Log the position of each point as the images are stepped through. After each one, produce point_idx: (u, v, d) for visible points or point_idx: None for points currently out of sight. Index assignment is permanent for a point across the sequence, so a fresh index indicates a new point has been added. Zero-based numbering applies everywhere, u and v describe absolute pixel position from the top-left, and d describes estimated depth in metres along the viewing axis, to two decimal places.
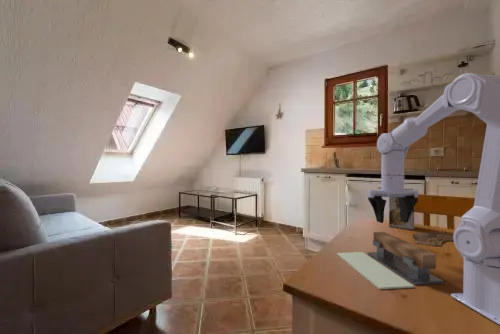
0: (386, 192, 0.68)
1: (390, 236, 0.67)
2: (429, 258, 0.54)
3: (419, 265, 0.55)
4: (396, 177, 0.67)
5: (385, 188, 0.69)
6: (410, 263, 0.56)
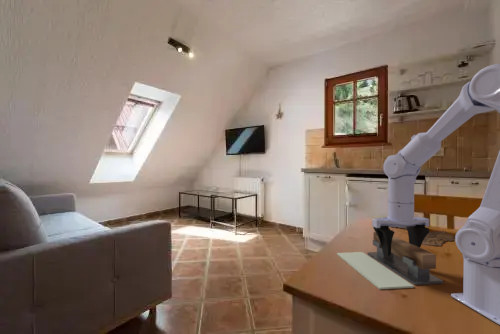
0: (394, 222, 0.60)
1: None
2: (429, 258, 0.54)
3: (419, 265, 0.55)
4: (405, 205, 0.60)
5: (392, 217, 0.62)
6: (410, 263, 0.56)
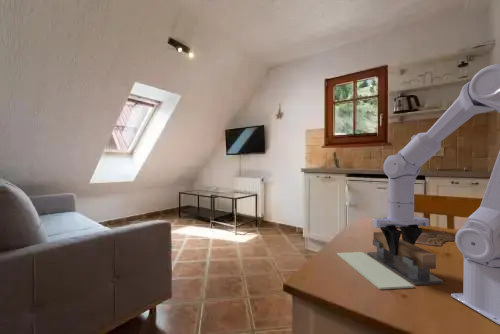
0: (394, 222, 0.60)
1: None
2: (429, 258, 0.54)
3: (419, 265, 0.55)
4: (405, 205, 0.60)
5: (392, 217, 0.62)
6: (410, 263, 0.56)
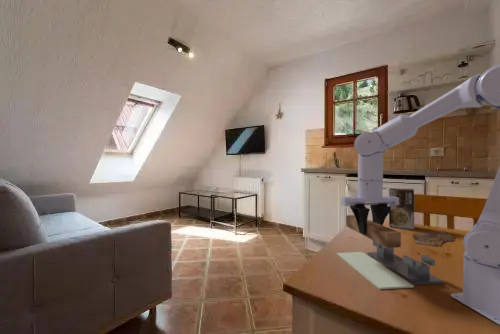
0: (362, 200, 0.60)
1: None
2: (394, 236, 0.53)
3: (384, 243, 0.54)
4: (373, 183, 0.59)
5: (361, 195, 0.61)
6: (410, 263, 0.56)
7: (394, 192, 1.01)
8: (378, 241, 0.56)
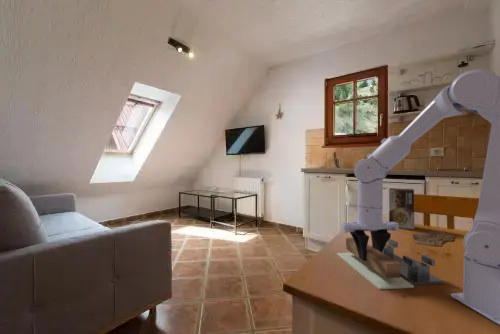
0: (362, 227, 0.60)
1: None
2: (394, 267, 0.53)
3: (384, 274, 0.54)
4: (373, 210, 0.59)
5: (361, 221, 0.61)
6: (410, 263, 0.56)
7: (394, 192, 1.01)
8: (378, 270, 0.56)
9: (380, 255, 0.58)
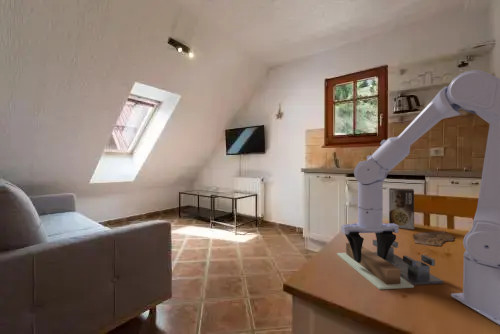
0: (362, 229, 0.60)
1: None
2: (394, 273, 0.53)
3: (384, 280, 0.54)
4: (373, 212, 0.59)
5: (361, 223, 0.61)
6: (410, 263, 0.56)
7: (394, 192, 1.01)
8: (378, 276, 0.56)
9: (380, 261, 0.58)
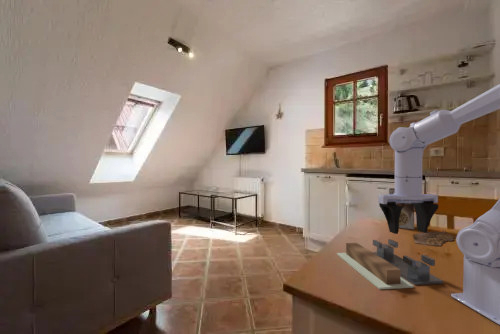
0: (402, 197, 0.57)
1: (361, 248, 0.67)
2: (394, 273, 0.53)
3: (384, 280, 0.54)
4: (413, 179, 0.57)
5: (399, 193, 0.59)
6: (410, 263, 0.56)
7: (394, 192, 1.01)
8: (378, 276, 0.56)
9: (380, 261, 0.58)
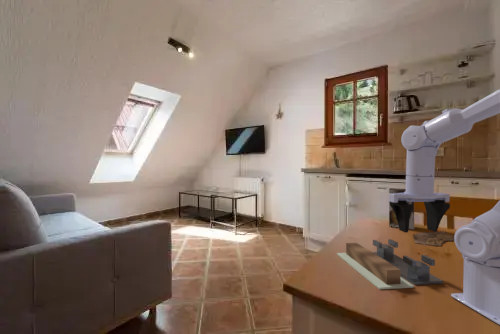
0: (413, 196, 0.57)
1: (361, 248, 0.67)
2: (394, 273, 0.53)
3: (384, 280, 0.54)
4: (425, 179, 0.56)
5: (411, 191, 0.58)
6: (410, 263, 0.56)
7: (394, 192, 1.01)
8: (378, 276, 0.56)
9: (380, 261, 0.58)
